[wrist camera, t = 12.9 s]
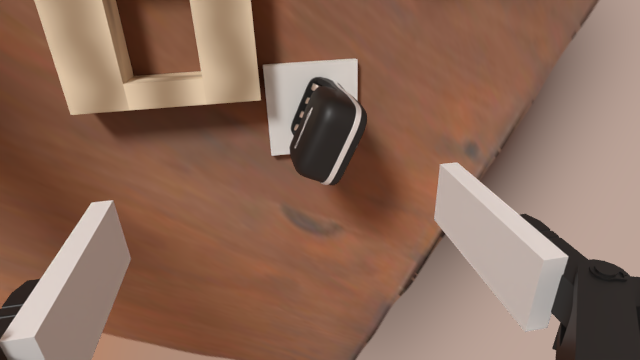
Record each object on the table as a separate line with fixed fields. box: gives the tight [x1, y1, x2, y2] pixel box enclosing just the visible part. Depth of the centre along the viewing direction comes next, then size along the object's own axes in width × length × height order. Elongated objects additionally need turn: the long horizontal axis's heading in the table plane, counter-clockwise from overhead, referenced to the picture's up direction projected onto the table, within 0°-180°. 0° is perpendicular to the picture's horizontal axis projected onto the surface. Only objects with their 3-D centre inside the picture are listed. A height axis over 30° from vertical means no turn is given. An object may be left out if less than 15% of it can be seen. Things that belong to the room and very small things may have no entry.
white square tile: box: [263, 59, 358, 156], centre depth 40 cm, size 9×9×1 cm
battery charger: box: [289, 77, 367, 185], centre depth 35 cm, size 7×4×11 cm, turn 156°
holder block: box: [35, 0, 261, 115], centre depth 34 cm, size 16×14×4 cm
